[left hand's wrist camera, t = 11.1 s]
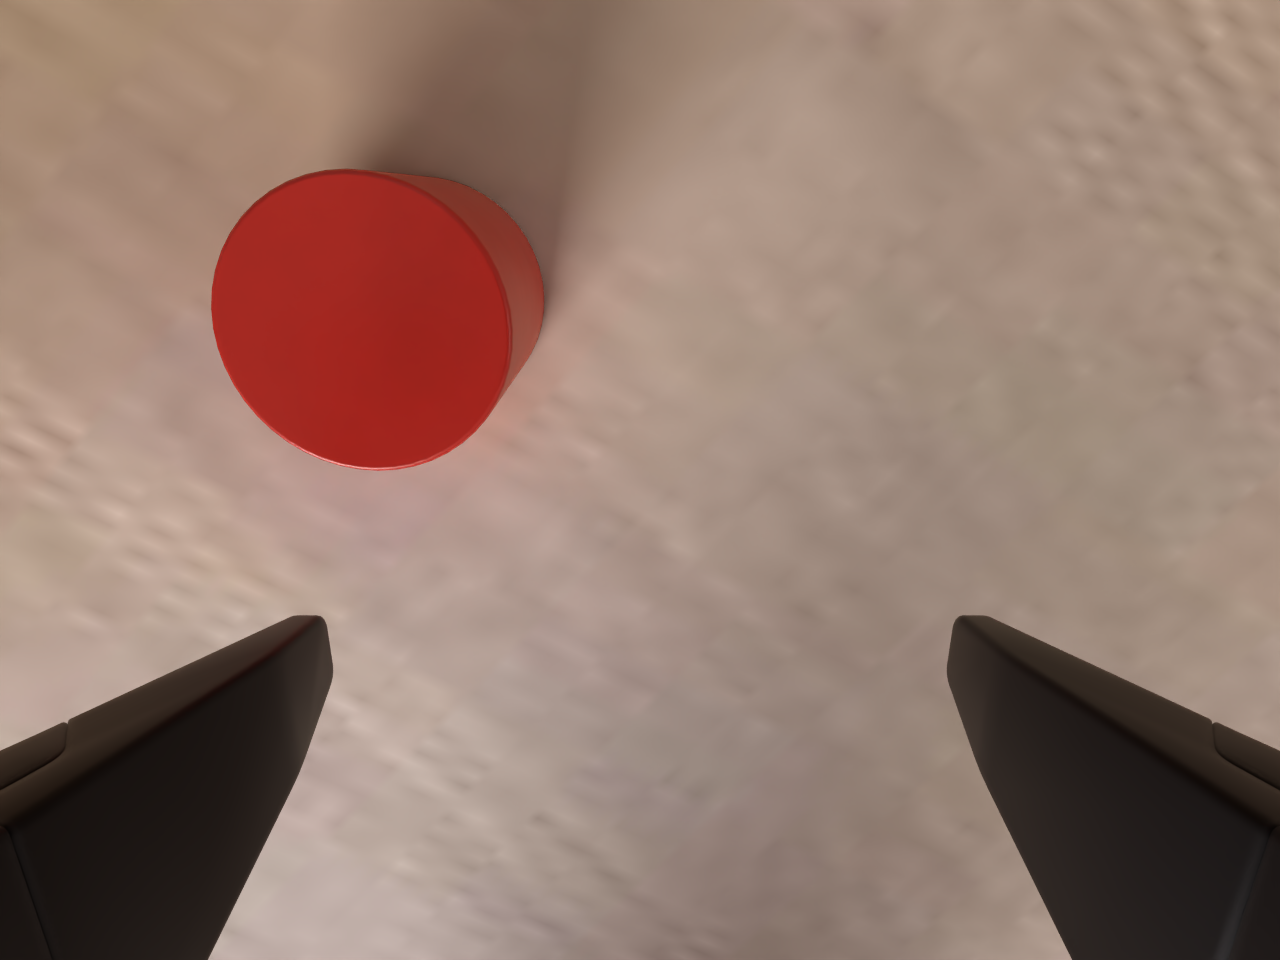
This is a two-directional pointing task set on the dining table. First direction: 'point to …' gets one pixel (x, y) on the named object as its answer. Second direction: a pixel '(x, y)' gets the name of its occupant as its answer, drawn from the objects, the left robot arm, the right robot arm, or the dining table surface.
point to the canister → (375, 313)
